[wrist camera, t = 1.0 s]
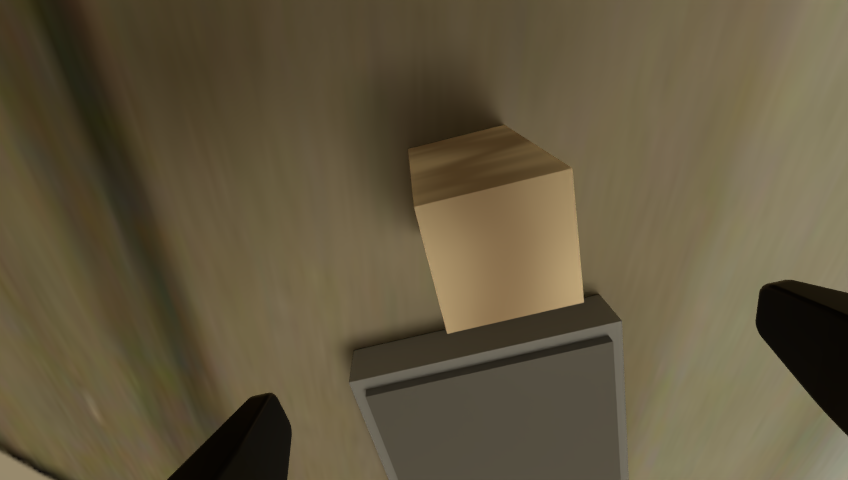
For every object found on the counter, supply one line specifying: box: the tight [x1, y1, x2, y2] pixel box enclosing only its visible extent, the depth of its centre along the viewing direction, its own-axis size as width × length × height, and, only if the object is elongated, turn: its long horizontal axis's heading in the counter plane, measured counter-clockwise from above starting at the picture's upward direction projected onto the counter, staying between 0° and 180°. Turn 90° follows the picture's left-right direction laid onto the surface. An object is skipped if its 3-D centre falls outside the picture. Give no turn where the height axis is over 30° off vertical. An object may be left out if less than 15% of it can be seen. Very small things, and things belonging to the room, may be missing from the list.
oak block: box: [408, 125, 584, 334], centre depth 16 cm, size 4×4×8 cm
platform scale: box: [349, 295, 629, 480], centre depth 25 cm, size 14×16×3 cm
